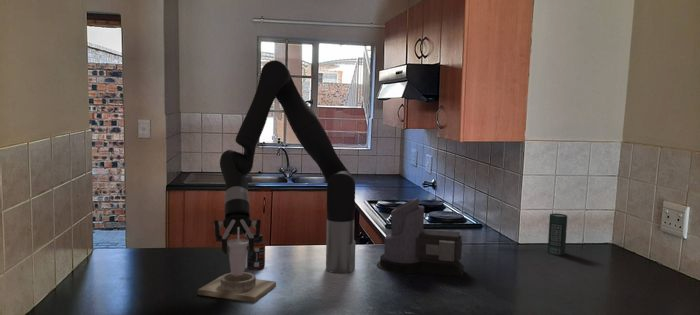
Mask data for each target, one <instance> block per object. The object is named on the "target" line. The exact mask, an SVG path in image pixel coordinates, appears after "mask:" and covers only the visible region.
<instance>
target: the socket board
mask: <svg viewBox="0 0 700 315" xmlns="http://www.w3.org/2000/svg"><path fill="white" fill-rule="evenodd" d="M276 287H277V281H274V280H268V279H267V280H266V279H258V278H256V274H254V273H252V272H247V271H246V272H245V271H244V274H243V275H238V276H236V275H232V274H231V272H229V273H224V274H223V275H220V276H219V277H216V279H214V280H212V281H210V282H209V283H207V284H205V285H203V286H202V287H200V288H198V289H197V295H198V296H205V297H214V298H220V299H227V300H236V301H242V302H243V301H244V302H248V303H249V302H250V303H256V302H258V301H259V300H260V299H262V298H263V297H264V296H265V295H267V294H268V293H270V291H272V290H273V289H275V288H276Z"/></svg>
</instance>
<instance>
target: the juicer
mask: <svg viewBox="0 0 700 315" xmlns="http://www.w3.org/2000/svg"><path fill="white" fill-rule="evenodd" d="M390 215H391V216H390V217H391V228H390V230H391V232H389V233H388V234H387V235H385V237H384V252H383V254H381V255H380V258H379V261H377V262H376V267H377V268H378V269H379V270H381V271H388V272H393V273H398V274H416V273H417V274H418V273H419V274H429V275H439V276H440V275H441V276H448V277H449V276H450V277H458V278H460V277H461V278H463V277H464V270H465V266H464V265H463V263H462V262H461V261H460V260H462V250H463V249H462V248H463V236H462V235H460V234H461V232H460V231H452V230H440V229H439V230H438V229H427V228H426V229H425V228H424V226H425V225H424V224H425V222H424V221H425V206H424V205H420V197H414V198H413V199H410V200H408V201H406V202H404V203H403V204H400V205H398V206H397V207H395V208H394V209H393V210H391V211H390Z"/></svg>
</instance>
